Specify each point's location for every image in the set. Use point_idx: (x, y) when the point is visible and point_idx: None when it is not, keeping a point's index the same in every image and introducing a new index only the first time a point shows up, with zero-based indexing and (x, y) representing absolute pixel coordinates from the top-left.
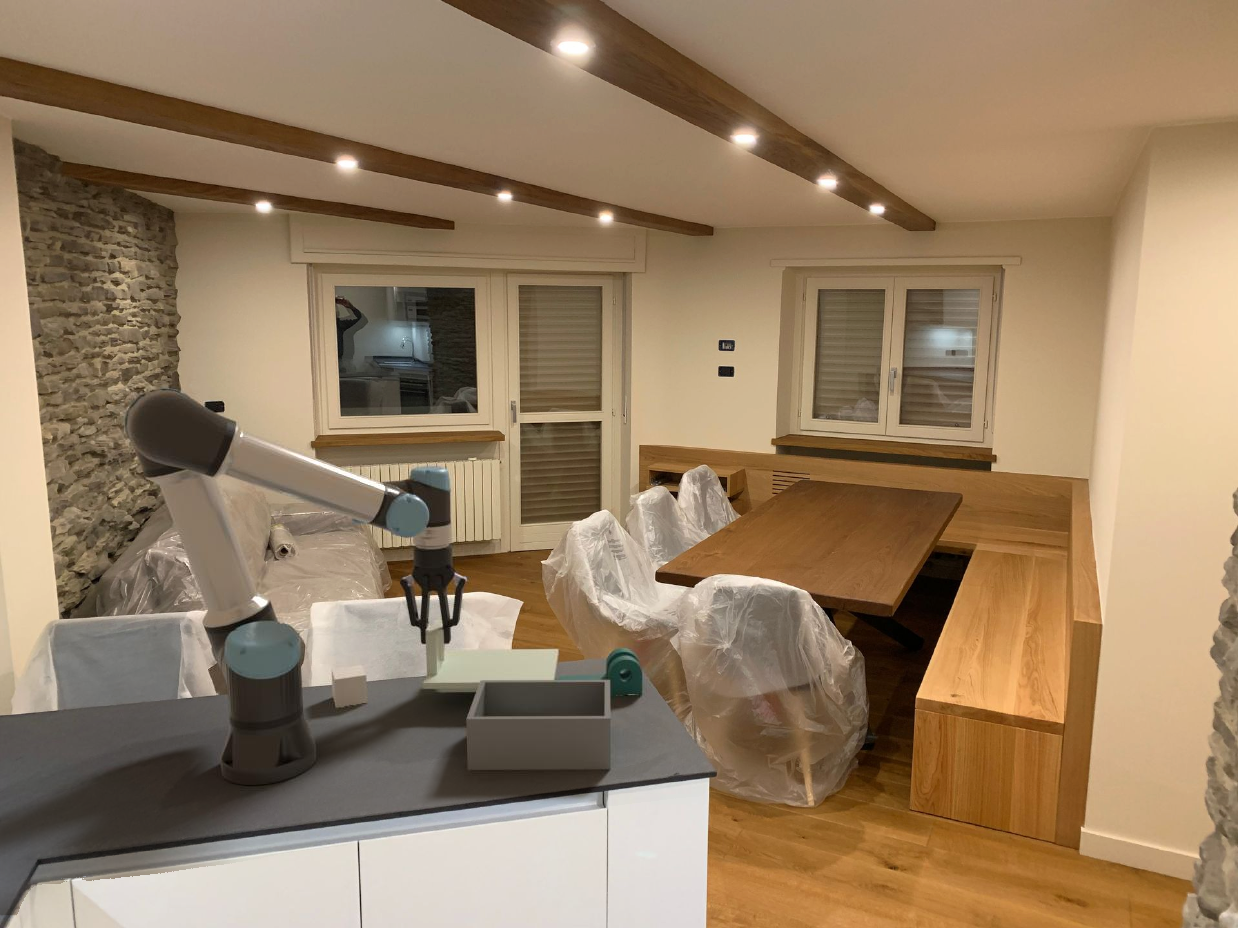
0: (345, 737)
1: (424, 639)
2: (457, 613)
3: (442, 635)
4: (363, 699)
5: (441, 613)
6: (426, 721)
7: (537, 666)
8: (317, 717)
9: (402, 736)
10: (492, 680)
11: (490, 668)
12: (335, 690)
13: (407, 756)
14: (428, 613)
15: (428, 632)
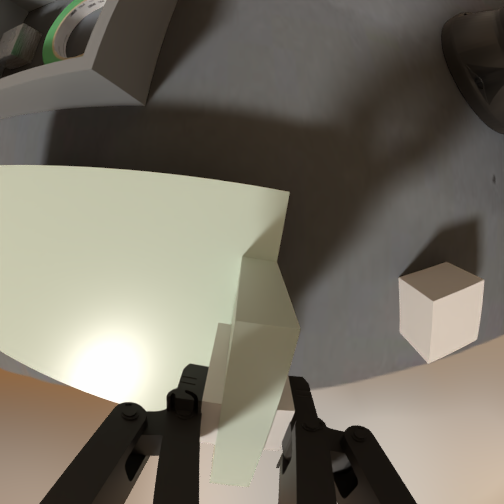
0: (424, 115)
1: (294, 387)
2: (93, 447)
3: (209, 382)
4: (409, 278)
5: (195, 476)
6: (270, 146)
7: (3, 264)
8: (469, 224)
9: (320, 82)
10: (63, 72)
11: (86, 277)
12: (468, 272)
13: (299, 8)
14: (281, 494)
15: (281, 377)
